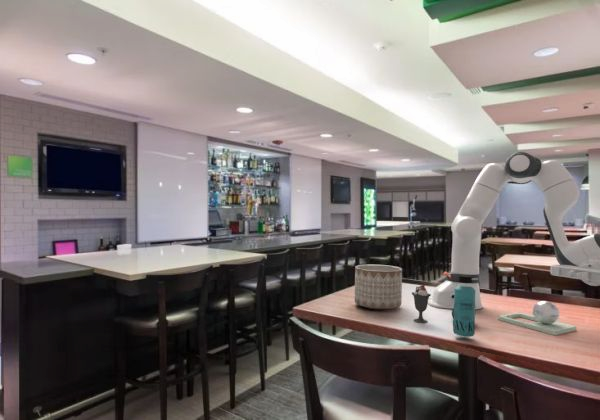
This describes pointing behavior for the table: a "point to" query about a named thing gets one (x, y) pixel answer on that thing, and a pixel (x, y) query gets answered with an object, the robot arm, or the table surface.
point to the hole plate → (538, 324)
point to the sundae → (421, 301)
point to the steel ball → (545, 312)
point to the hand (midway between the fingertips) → (573, 275)
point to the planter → (378, 286)
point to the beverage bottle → (464, 308)
